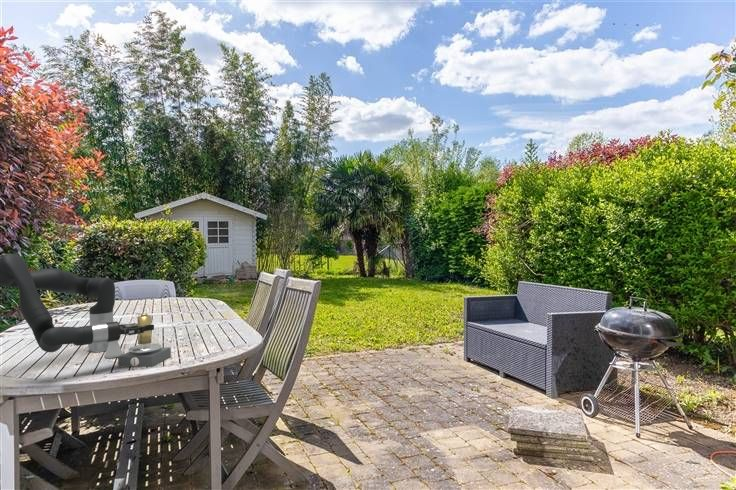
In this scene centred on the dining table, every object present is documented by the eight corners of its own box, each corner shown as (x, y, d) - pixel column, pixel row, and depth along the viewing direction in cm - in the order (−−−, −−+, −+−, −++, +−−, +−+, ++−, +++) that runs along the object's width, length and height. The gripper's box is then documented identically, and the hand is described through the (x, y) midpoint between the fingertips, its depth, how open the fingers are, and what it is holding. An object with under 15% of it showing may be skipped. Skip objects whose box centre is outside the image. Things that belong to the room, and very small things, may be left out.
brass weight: (135, 344, 174) (134, 314, 173) (142, 341, 179) (142, 312, 178) (147, 344, 173) (146, 314, 173) (154, 341, 178) (153, 312, 178)
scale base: (117, 367, 169) (117, 355, 169) (139, 356, 184) (139, 346, 183) (151, 366, 168) (151, 355, 168) (170, 356, 183) (170, 346, 183)
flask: (109, 359, 180) (108, 336, 180) (100, 357, 184) (100, 334, 184) (126, 355, 186) (126, 332, 186) (118, 353, 190) (117, 331, 190)
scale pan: (121, 353, 170) (121, 351, 170) (139, 346, 182) (139, 343, 182) (151, 353, 170) (150, 350, 170) (167, 345, 182) (167, 343, 182)
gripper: (109, 325, 161) (157, 319, 173) (99, 320, 171) (145, 315, 183) (109, 345, 161) (157, 337, 173) (100, 339, 171) (146, 332, 183)
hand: (151, 326), depth 178 cm, fingers closed on brass weight, 5 cm apart
